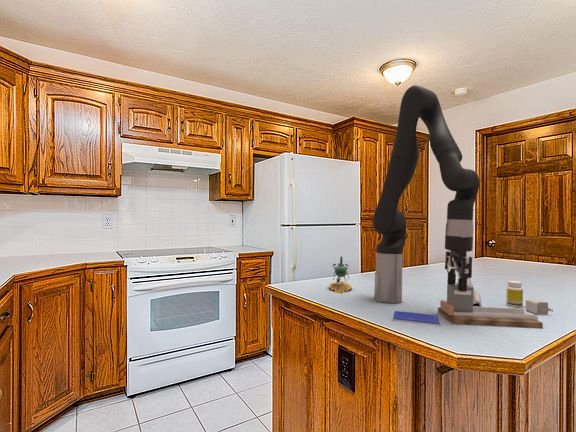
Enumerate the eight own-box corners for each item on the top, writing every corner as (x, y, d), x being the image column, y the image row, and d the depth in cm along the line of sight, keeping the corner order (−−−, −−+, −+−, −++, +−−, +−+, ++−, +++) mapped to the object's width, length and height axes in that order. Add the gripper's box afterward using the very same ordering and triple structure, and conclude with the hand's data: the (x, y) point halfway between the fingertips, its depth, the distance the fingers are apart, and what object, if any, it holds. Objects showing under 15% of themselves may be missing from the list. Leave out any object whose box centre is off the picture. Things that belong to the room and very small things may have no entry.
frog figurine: (354, 285, 148) (355, 252, 146) (350, 299, 130) (351, 262, 129) (332, 284, 150) (333, 251, 149) (325, 297, 133) (326, 261, 131)
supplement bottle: (525, 308, 114) (525, 283, 114) (509, 307, 115) (510, 282, 115) (518, 304, 119) (519, 280, 119) (503, 303, 120) (504, 280, 120)
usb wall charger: (536, 310, 111) (536, 298, 111) (555, 317, 104) (555, 304, 104) (525, 311, 111) (525, 299, 111) (544, 317, 104) (544, 304, 104)
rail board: (452, 323, 95) (452, 308, 95) (437, 312, 107) (438, 298, 107) (542, 328, 93) (542, 312, 93) (517, 315, 105) (517, 301, 105)
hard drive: (437, 314, 101) (394, 310, 105) (439, 322, 93) (393, 317, 98) (437, 319, 101) (394, 315, 105) (439, 328, 93) (393, 322, 98)
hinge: (481, 307, 115) (471, 278, 116) (467, 309, 117) (456, 281, 118) (480, 297, 129) (471, 272, 131) (467, 299, 131) (458, 275, 133)
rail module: (451, 313, 99) (452, 284, 99) (446, 309, 103) (447, 281, 103) (472, 314, 99) (473, 284, 99) (467, 310, 103) (467, 282, 103)
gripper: (438, 232, 108) (436, 282, 109) (455, 235, 94) (452, 293, 95) (462, 233, 108) (460, 283, 108) (483, 236, 93) (480, 294, 94)
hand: (456, 288), depth 101 cm, fingers open, 8 cm apart
